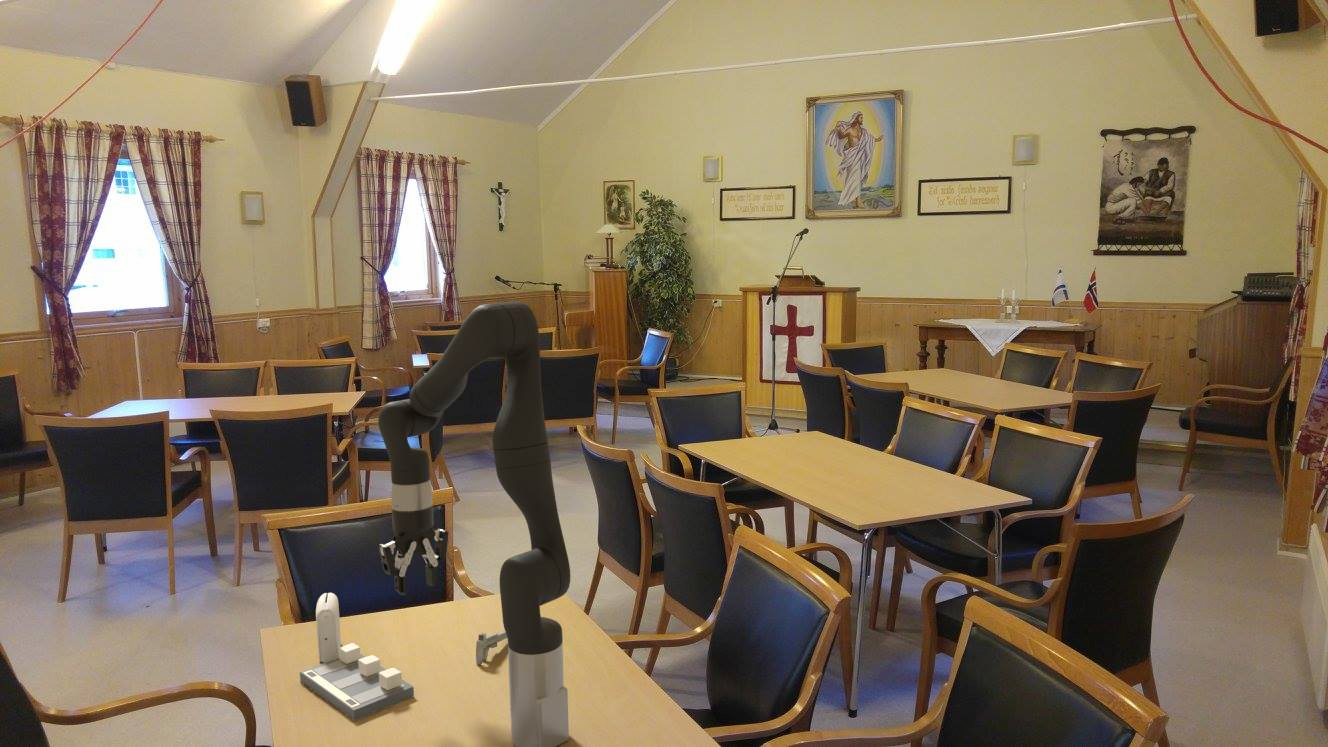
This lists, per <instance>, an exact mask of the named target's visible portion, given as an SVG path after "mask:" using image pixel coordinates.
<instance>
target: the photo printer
mask: <svg viewBox="0 0 1328 747" xmlns="http://www.w3.org/2000/svg"><path fill="white" fill-rule="evenodd" d="M339 605H340V604H339V599H338V596H337V595H336V594H335V593H333V592H328V593H327V592H324V593H323V594H321V595H320V596H319V598H318V599H317V602H316V608H315V623H316V631H317V632H316V636H317V648H318V649H317V652H318V654H317V655H318V659H319V660H318V661H319V662H322V664H323V663H326V662H329V661H332V660H335V659H338V658H339V647H342V645H341V642H342V639H341V638H342V636H341V620H340V619H341V618H340V609H339V607H340V606H339Z"/></svg>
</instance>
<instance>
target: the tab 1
mask: <svg viewBox="0 0 1328 747" xmlns="http://www.w3.org/2000/svg"><path fill="white" fill-rule="evenodd" d="M360 654H361V646H359V645H357V644H355V643H354V642H351V643H348V644H346V645H343V646H342V645H341V646H340V647H339V658H340V660H341V661H343V662H344V663H346V664H348V663H351V662H354V661H356V660H359V659H361V655H360Z"/></svg>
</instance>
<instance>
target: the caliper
mask: <svg viewBox="0 0 1328 747" xmlns="http://www.w3.org/2000/svg"><path fill="white" fill-rule="evenodd" d="M506 639H508V638H507V635H506V632H505V629H504V630H502V631H500V632H498V633H495V632H494V633H490V634H488V635H487V633H484V632H482V633H481V634H478V638H477V640H476V645H475V661H476V662H475V664H477V665H479V666H480V665H481V664H482V665H483V662H482V661H486V660H488V655H489V651H490V648H491V649H494V648H496V647H498V643H499V642H502V641H504V640H506ZM486 662H487V661H486ZM482 665H481V666H482Z"/></svg>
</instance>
